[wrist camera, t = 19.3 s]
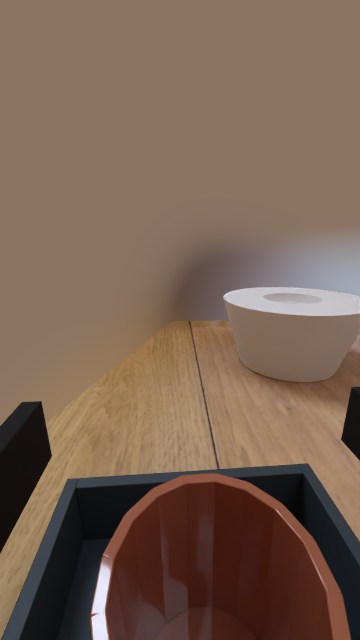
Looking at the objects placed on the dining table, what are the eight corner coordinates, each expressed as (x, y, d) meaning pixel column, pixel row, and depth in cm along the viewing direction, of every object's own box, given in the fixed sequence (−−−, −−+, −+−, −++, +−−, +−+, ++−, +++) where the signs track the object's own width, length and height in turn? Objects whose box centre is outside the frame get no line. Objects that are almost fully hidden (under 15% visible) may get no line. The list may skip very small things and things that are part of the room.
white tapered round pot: (311, 335, 61) (318, 285, 58) (399, 390, 38) (418, 313, 35) (212, 339, 60) (213, 288, 57) (240, 397, 37) (244, 318, 34)
